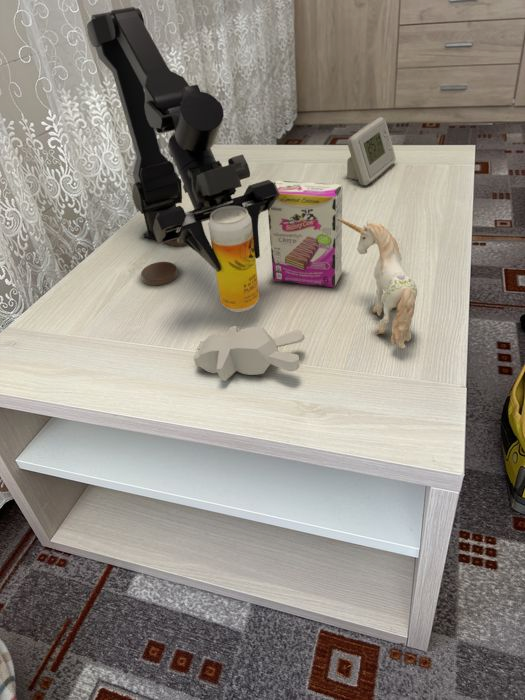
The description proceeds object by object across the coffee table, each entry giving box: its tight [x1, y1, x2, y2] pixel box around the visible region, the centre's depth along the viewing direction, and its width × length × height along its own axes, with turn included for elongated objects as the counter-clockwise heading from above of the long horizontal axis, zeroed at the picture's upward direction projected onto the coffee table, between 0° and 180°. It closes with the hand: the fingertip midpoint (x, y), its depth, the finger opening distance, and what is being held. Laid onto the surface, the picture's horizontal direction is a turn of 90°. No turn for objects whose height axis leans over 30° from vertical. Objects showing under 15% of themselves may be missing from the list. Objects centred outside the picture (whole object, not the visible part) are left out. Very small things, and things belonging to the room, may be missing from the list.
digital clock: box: [346, 116, 397, 186], centre depth 125 cm, size 16×9×11 cm, turn 134°
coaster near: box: [140, 261, 178, 287], centre depth 100 cm, size 6×6×1 cm
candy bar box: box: [267, 180, 343, 289], centre depth 90 cm, size 11×5×16 cm, turn 71°
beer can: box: [208, 206, 260, 313], centre depth 82 cm, size 6×6×15 cm
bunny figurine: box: [192, 325, 305, 381], centre depth 77 cm, size 10×5×15 cm
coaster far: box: [165, 239, 188, 248], centre depth 110 cm, size 6×6×1 cm
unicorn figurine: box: [336, 218, 418, 349], centre depth 80 cm, size 7×20×13 cm, turn 20°
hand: (238, 264), depth 81 cm, fingers closed on beer can, 6 cm apart
